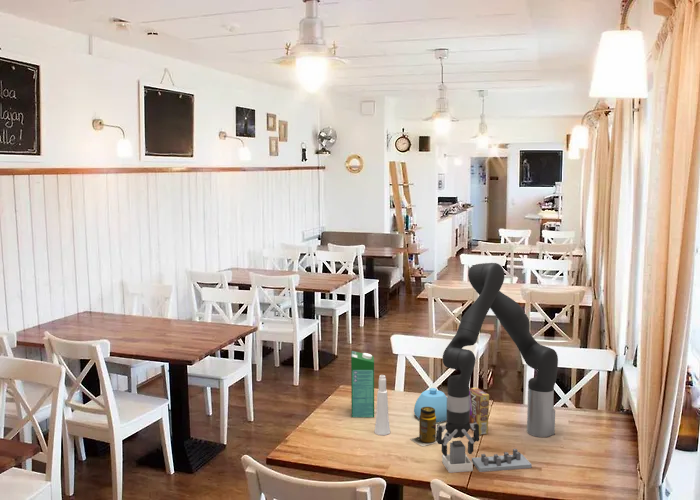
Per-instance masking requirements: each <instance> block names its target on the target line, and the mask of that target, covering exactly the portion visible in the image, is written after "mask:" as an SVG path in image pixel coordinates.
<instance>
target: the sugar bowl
mask: <svg viewBox="0 0 700 500" xmlns="http://www.w3.org/2000/svg"><path fill="white" fill-rule="evenodd" d="M415 401H416V402H415V404H414V409H413V413H414V416H415V417H417V419H419V417H420V413H421V408H422V407H432V408H434V409H435V416H436V424H437V423H438V424H439V423H444V422H447V421H446V418H447V395H446V394H445V392H443V391H442V390H438V389H437V388H435V387H431V388H429V389H427V390H424V391H422V392H421V394H420V395H419V396H418V397H417V399H416V400H415Z"/></svg>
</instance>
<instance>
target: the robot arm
mask: <svg viewBox="0 0 700 500" xmlns="http://www.w3.org/2000/svg"><path fill="white" fill-rule="evenodd" d="M467 277H468V280H469V283H470V285H471V286H472V288H473V289H474V290H475V292H476V293H477V294H478V297H477V298H476V300H475V301H474V302H473V303H472V304H471V306H469V308H468V309H467V310H466V311H465V313H464V314H463V315H462V317H461V320H460V322H459V325H458V328H457V331H456V334H455V335H454V336H453V338H452V339H451V340H450V342H449V344H447V346H446V348H445V349H444V351H443V354H442V364H443V365H444V367H446V368H447V369H451V370H457V371H460V374H455V375H451V376H449V377H448V378H447V395H446V397H447V418H446V421H445V425H443V424H442V425H441V424H439V423H438V424H436V441H437V444H438V445H441V453H442V455H444V456H447V454H448V445H447V444H448V443H450V442H451V440H452V439H459V438H461V439H462V438H464V437H465V438H466V439H467V440H468V441H467V453H468V454H469V455H472V454H473V452H474V449H475V448H474V445H475V443H476V442H479V441H480V435H479V425H478V424H477V423H476V422H473V423H471V424H470V423H469V418H470V399H469V389H470V382H471V378H472V374H473V371H474V368H475V365H476V356H475V354H474V352H473V351H472V350H470V349H464V348H465V347H469V346H470V347H471V346H474V345H475V344H476V343H477V341H478V338H479V335H480V333H481V329H482V326H483V324H484V321H485V319H486V317H487V315H488V312H489V310H491V311H492V313H493V314H494V315H495V317H496V318H497V320H498V321H499V323H500V324H501V326H502V327H503V328H504V330H505V331H506V333H507V334H508V335H509V337H510V338H511V340H512V342H514V344H515V345H516V348H517V349H518V351H519V353H520V354H521V357H522V358H523V360H524V362H525V364H526V365H527V366H528V367H530V368H531V369H534V370H537V375H536V377H531V378H530V379H528V383H527V386H528V387H527V411H526V412H527V414H526V415H527V418H526V433H527V434H529V435H531V436H533V437H537V438H546V437H547V438H548V437H551V436H554V435H555V431H556V430H555V427H556V410H555V408H554V399H555V398H554V397H555V395H554V394H555V393H554V391H555V384H556V382H557V375H558V366H559V357H558V354H557V351H556V350H555V349H553V348H551V347H549V346H547V345H546V346H545V345H542V344H540V343H539V342H538V341H537V340H536V339H535V338H534V337H533V335H532V334H531V330H530V328H531V324H530V319H529V317H528V315H527V313H526V312H525V311H524V309H523V308H522V306H521V305H520V304H519V303H518V302H517V301H515V300H514V299H512V298H511V297H509V296H508V295H507V294H505V293H503V292H502V291H501V288H502V286H503V284H504V281H505V270H504V268H503V266H502V265H501V264H499V263H497V262H485V263H476V264H474V265H471V266H470V268H469V269H468V275H467ZM471 427H472V429H473V430H472V433H473V436H472V437H471V435H470V434H469V433H468V432H469V431H470V430H471V429H470V428H471ZM445 430H446V432H445V433H444V431H445ZM443 433H444V436H443Z"/></svg>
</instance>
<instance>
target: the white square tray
mask: <svg viewBox="0 0 700 500" xmlns="http://www.w3.org/2000/svg"><path fill="white" fill-rule="evenodd" d="M441 459H442V461H441V462H442V465H444V467H445V469H446V470H447V472H448V473H449V474H450V473H452V474H453V473H462V472H464V473H465V472H473V469H474V466H473V465H474V464H473V463H472V459H470V457H469V456H468V455H467V453H465V463H463V464H451V463H450V453H447V456H444V454H442V455H441Z"/></svg>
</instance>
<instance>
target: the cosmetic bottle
mask: <svg viewBox="0 0 700 500" xmlns="http://www.w3.org/2000/svg"><path fill="white" fill-rule="evenodd" d="M376 393H377V395H376V415H375V425H374V434H375V435H378V436H387V435H390V434H391V427H390V421H389V403H388V402H389V401H388V399H389V398H388V390H387V377H386V375H384V374H380V375H379V378H378V390H377V392H376Z"/></svg>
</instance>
